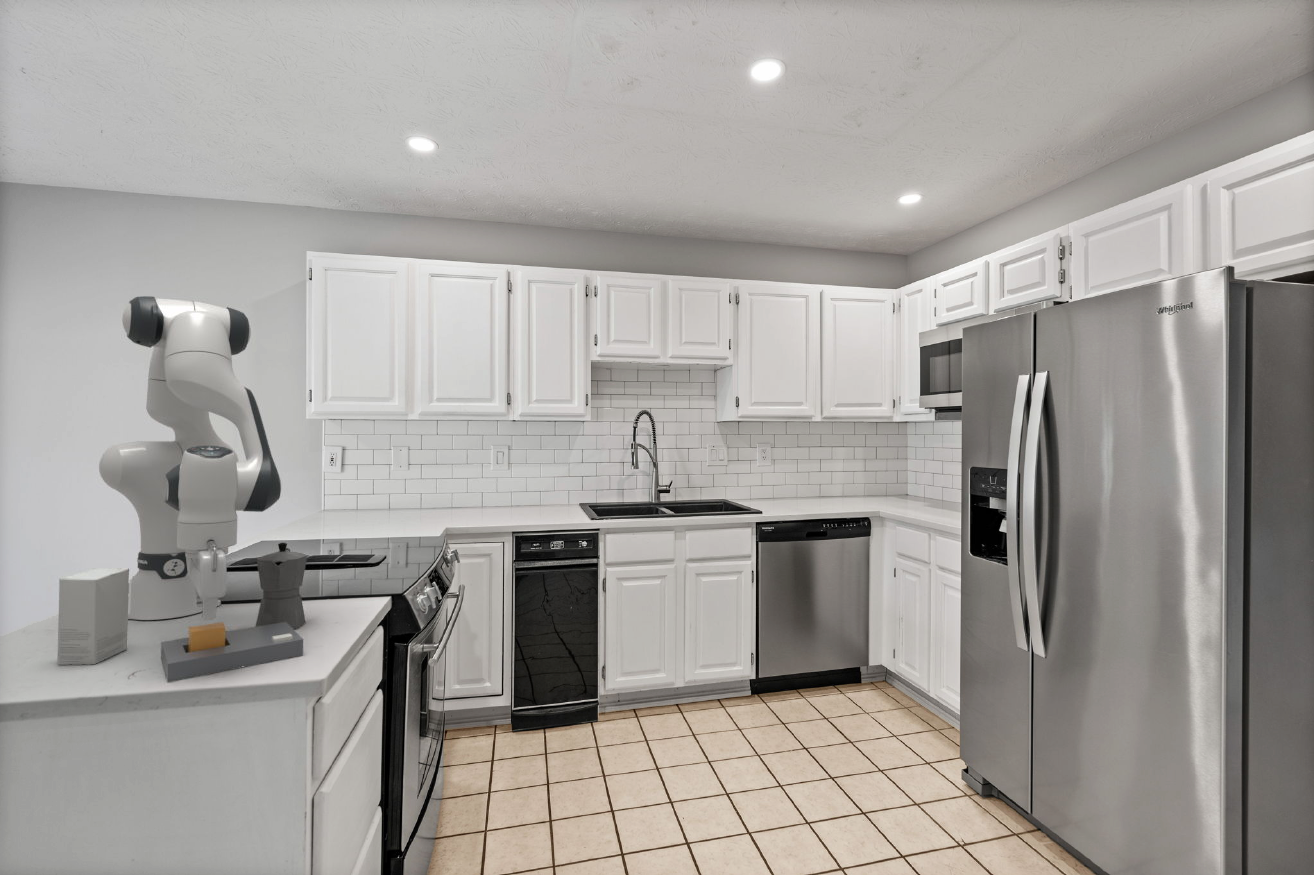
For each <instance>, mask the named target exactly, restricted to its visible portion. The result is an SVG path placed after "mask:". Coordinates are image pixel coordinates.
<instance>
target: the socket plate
mask: <svg viewBox="0 0 1314 875" xmlns="http://www.w3.org/2000/svg"><path fill="white" fill-rule="evenodd" d="M188 646H189V637H183V638H177V639H171V640H165V641H161V642H160V660H161V663H162V664H161V665H162V667H164V668H163V671H164V674H165V678H166V680H167V683H170V682H174V681H179V680H183V679H185V680H186V679H189V678H195V677H200V676H205V675H209V674H215V673H219V672H225V671H224V670H226V671H230V670H234V669H233V668H236V669H240V668H239V667H241V668H243V667H242V666H246V667H250V666H249V665H251V666H255V665H260V664H265V663H271V662H275V661H276V660H277V661H281V660H280V659H282V660H287V659H290V658H289V657H292V658H297V657H301V656H304V639H303V637H302V636H301V635H300V634H299V633H298V632H297V631H296V629H293V628H292V627H291V626H290V625H289V624H288V623H287V622H282V623H276V624H270V625H263V626H257V627H256V626H252V627H247V628H246V627H245V628H240V629H239V628H238V629H234V630H229V631H228V630H227V631H226V630H225V646H222V647H217V648H211V649H205V650H199V651H194V652H188ZM296 656H297V657H296ZM286 658H287V659H286ZM270 661H271V662H270ZM277 661H276V662H277Z"/></svg>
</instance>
